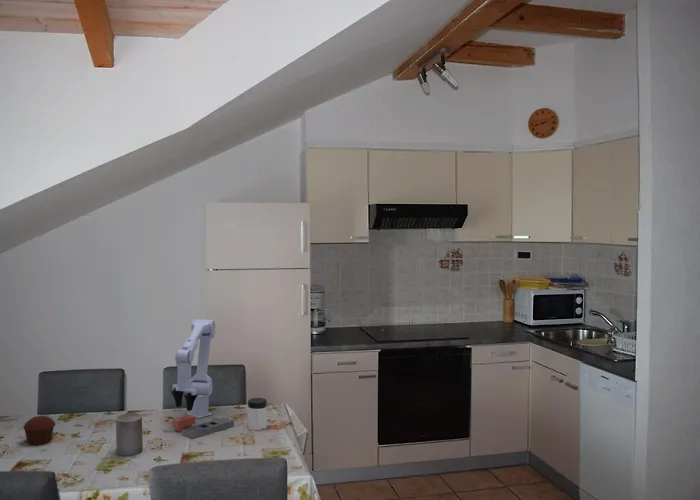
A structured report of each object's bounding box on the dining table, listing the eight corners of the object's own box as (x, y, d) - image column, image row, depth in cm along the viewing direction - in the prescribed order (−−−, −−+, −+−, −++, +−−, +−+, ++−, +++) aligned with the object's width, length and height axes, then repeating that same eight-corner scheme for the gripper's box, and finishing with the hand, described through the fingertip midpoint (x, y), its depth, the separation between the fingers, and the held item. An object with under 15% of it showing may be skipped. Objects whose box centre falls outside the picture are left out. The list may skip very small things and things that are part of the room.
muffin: (20, 447, 255) (20, 422, 255) (26, 438, 266) (26, 414, 265) (53, 445, 258) (53, 420, 258) (58, 435, 269) (57, 412, 268)
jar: (246, 424, 287) (246, 398, 287) (264, 423, 290) (265, 396, 289) (249, 431, 279) (249, 403, 278) (268, 429, 281) (268, 402, 280)
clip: (172, 430, 278) (172, 419, 277) (190, 425, 284) (190, 414, 284) (177, 432, 275) (177, 421, 275) (195, 427, 282) (195, 416, 282)
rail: (182, 435, 273) (182, 429, 272) (223, 422, 289) (223, 417, 289) (192, 439, 268) (192, 433, 268) (233, 426, 285) (233, 420, 285)
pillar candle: (133, 445, 260) (133, 408, 259) (147, 451, 254) (147, 413, 253) (111, 452, 252) (110, 414, 251) (125, 458, 246) (124, 419, 245)
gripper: (166, 375, 280) (166, 406, 281) (186, 381, 271) (186, 414, 272) (180, 373, 286) (180, 403, 286) (200, 378, 276) (200, 410, 277)
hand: (184, 408), depth 279 cm, fingers open, 7 cm apart
